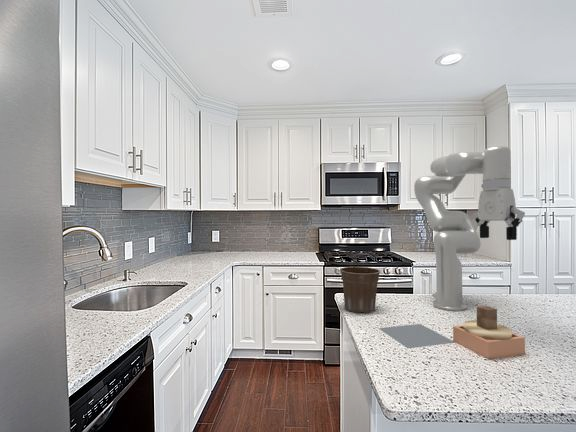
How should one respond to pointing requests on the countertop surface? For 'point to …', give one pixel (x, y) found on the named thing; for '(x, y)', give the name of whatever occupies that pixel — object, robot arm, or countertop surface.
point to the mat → (415, 336)
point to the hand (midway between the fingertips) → (497, 238)
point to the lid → (487, 325)
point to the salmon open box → (489, 344)
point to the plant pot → (360, 288)
